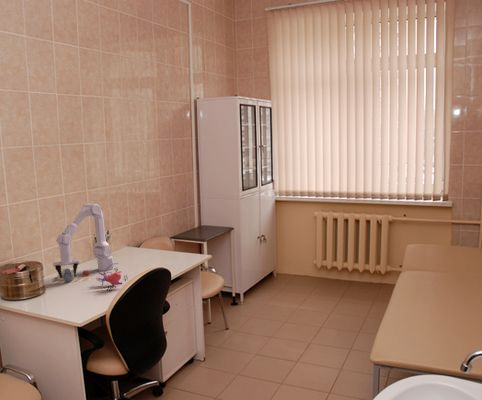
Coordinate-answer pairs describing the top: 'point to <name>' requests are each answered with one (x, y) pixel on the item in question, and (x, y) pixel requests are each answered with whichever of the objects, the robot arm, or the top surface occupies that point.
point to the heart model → (111, 277)
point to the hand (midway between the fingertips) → (68, 277)
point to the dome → (64, 270)
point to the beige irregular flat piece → (85, 273)
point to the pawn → (67, 275)
